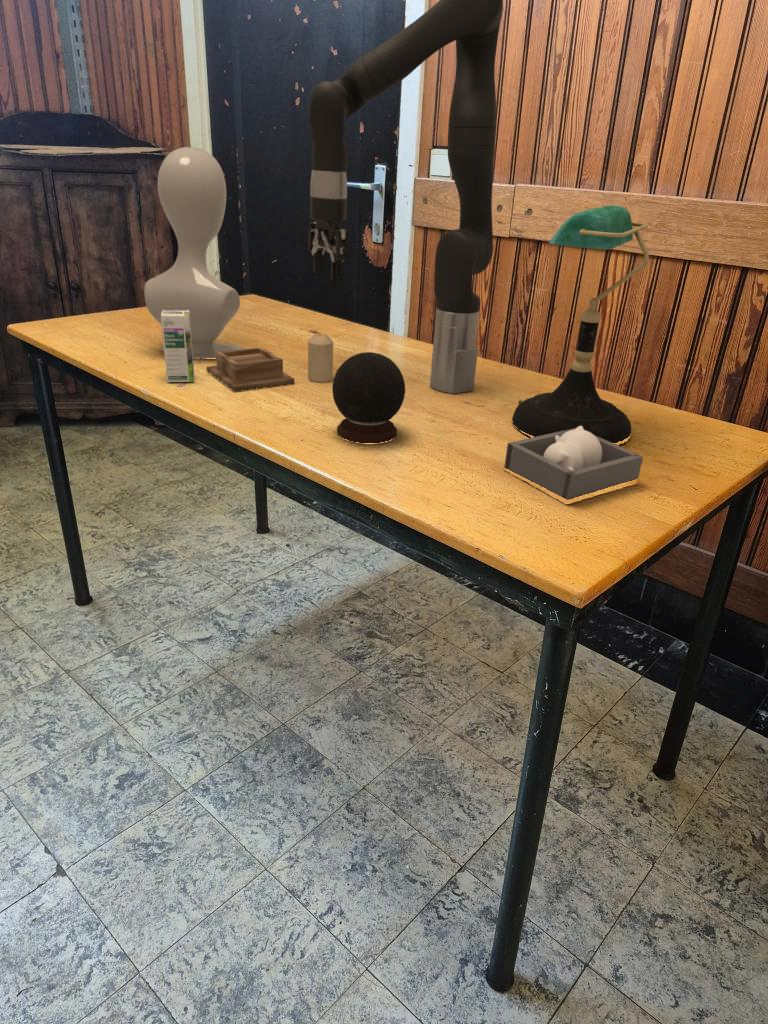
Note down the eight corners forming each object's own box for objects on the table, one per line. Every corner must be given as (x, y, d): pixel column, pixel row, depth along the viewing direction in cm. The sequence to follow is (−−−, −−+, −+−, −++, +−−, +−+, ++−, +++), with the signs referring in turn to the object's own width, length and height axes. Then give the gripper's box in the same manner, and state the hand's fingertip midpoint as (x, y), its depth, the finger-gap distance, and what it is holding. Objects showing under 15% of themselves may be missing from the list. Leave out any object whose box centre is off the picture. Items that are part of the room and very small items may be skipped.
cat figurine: (565, 435, 108) (600, 415, 116) (511, 452, 116) (546, 432, 124) (585, 488, 109) (618, 464, 117) (530, 501, 117) (564, 478, 125)
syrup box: (166, 383, 150) (159, 314, 143) (168, 375, 155) (161, 308, 148) (194, 383, 151) (188, 315, 145) (194, 375, 156) (189, 308, 150)
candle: (308, 382, 156) (308, 337, 151) (307, 375, 160) (307, 331, 156) (333, 382, 157) (334, 338, 152) (331, 375, 161) (332, 331, 157)
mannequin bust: (257, 345, 181) (251, 150, 161) (228, 366, 164) (217, 149, 143) (177, 337, 184) (161, 144, 163) (140, 357, 166) (116, 143, 146)
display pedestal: (294, 384, 154) (294, 361, 152) (234, 392, 147) (233, 368, 145) (263, 365, 166) (263, 344, 164) (206, 371, 159) (205, 350, 157)
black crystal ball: (413, 428, 134) (418, 350, 127) (384, 452, 123) (389, 368, 116) (351, 416, 138) (353, 340, 131) (318, 437, 127) (319, 355, 120)
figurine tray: (636, 484, 116) (643, 456, 114) (566, 505, 108) (572, 475, 105) (572, 453, 126) (577, 427, 124) (503, 470, 118) (507, 442, 116)
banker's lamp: (533, 398, 154) (564, 199, 135) (641, 420, 145) (690, 210, 126) (492, 435, 132) (522, 205, 114) (615, 463, 124) (670, 218, 105)
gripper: (361, 198, 141) (358, 282, 149) (329, 192, 152) (327, 270, 159) (328, 198, 138) (326, 283, 145) (297, 191, 148) (297, 271, 156)
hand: (327, 276), depth 152 cm, fingers open, 8 cm apart
